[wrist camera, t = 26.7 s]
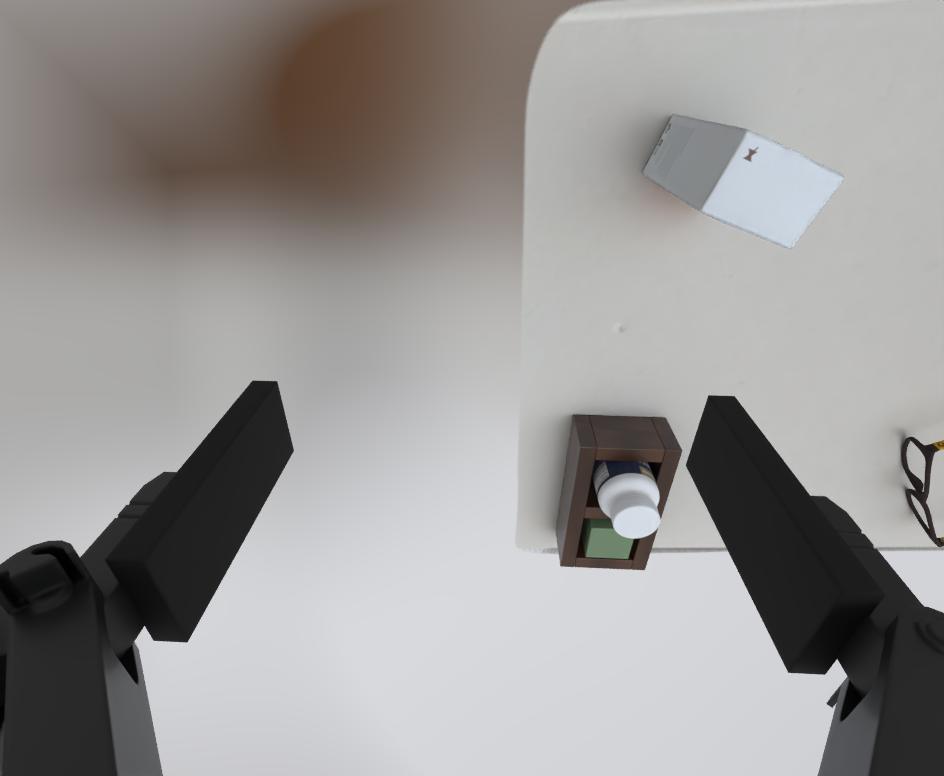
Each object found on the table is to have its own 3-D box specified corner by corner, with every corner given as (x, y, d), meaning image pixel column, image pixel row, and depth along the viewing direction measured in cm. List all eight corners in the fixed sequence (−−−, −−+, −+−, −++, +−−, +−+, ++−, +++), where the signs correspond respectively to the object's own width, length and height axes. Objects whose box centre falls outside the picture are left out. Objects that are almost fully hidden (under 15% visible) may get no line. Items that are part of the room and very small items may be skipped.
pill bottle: (650, 436, 48) (681, 509, 40) (627, 474, 51) (651, 550, 43) (599, 423, 48) (620, 494, 39) (579, 463, 50) (594, 537, 42)
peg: (578, 517, 55) (585, 557, 50) (583, 488, 52) (591, 528, 48) (617, 518, 55) (628, 559, 50) (624, 490, 52) (636, 530, 48)
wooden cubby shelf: (555, 530, 56) (560, 566, 52) (573, 414, 47) (580, 446, 43) (633, 533, 56) (644, 570, 51) (665, 417, 47) (682, 450, 43)
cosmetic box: (639, 174, 35) (695, 211, 25) (671, 112, 33) (747, 125, 23) (710, 205, 36) (792, 253, 26) (746, 147, 34) (851, 173, 24)
